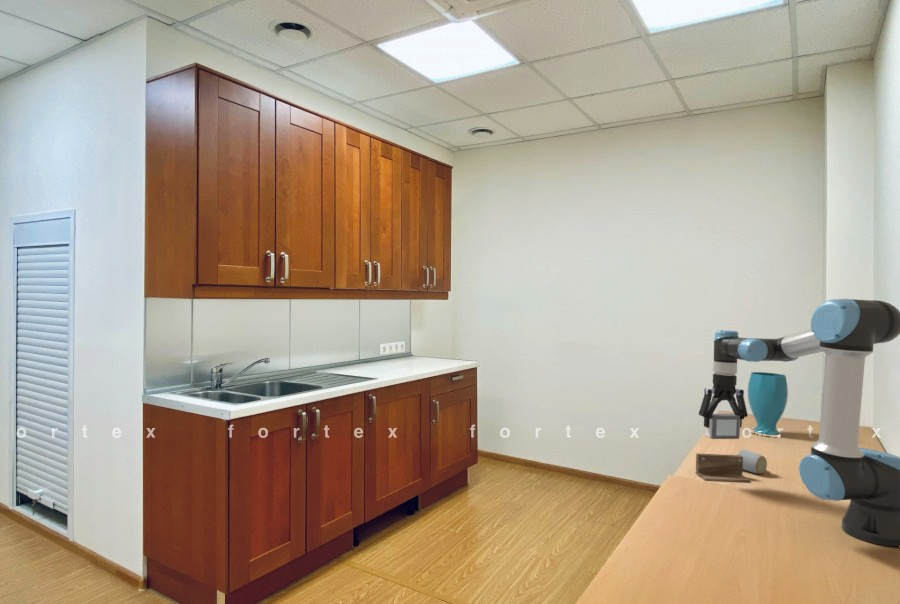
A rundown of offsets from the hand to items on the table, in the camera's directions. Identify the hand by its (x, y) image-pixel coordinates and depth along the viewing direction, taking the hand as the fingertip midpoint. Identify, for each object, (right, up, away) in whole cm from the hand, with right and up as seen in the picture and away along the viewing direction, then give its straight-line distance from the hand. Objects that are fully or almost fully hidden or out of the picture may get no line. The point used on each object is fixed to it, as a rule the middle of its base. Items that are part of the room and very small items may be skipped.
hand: (722, 436), depth 191 cm
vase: (+61, -19, +78) cm, 101 cm away
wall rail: (+2, -16, +4) cm, 17 cm away
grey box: (0, 0, 0) cm, 0 cm away
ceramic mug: (+19, -17, +14) cm, 29 cm away
